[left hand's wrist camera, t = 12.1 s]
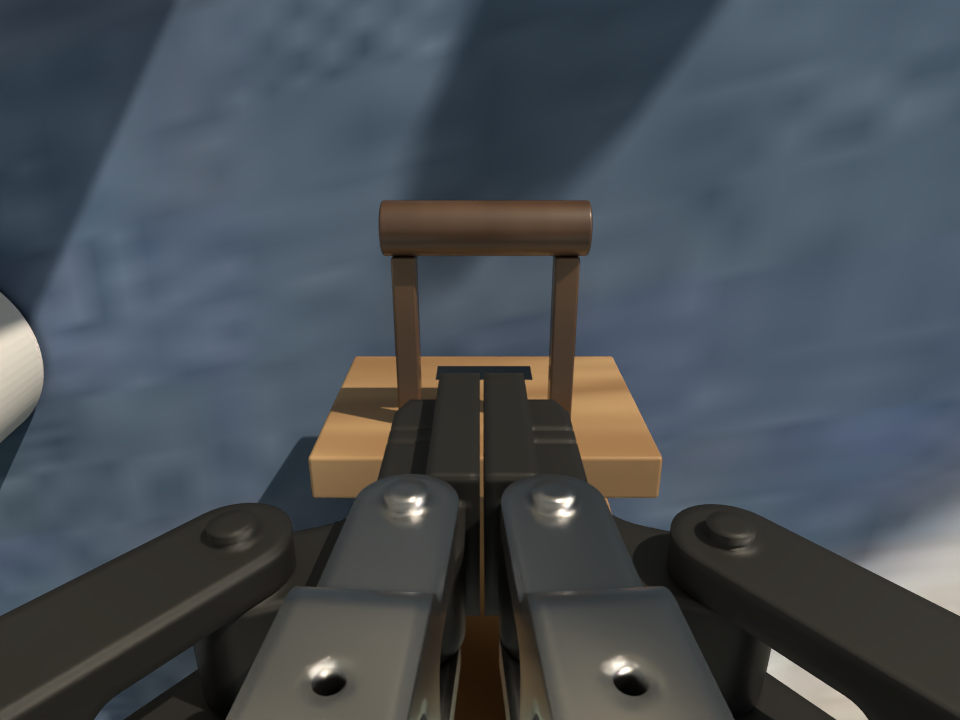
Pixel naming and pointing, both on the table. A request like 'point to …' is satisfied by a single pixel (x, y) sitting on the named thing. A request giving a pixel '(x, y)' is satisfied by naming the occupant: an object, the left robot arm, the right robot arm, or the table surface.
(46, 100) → the table surface
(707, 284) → the table surface
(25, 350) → the coffee cup
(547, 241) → the drawer
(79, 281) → the table surface
